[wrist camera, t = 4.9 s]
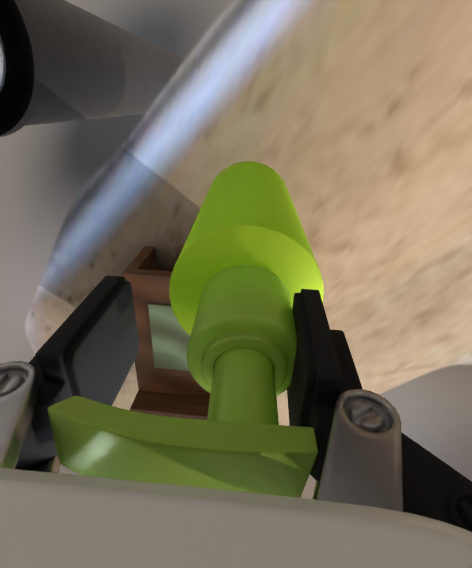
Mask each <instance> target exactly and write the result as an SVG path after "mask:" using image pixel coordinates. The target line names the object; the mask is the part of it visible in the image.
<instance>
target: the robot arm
mask: <svg viewBox="0 0 472 568" xmlns="http://www.w3.org/2000/svg"><path fill="white" fill-rule="evenodd" d="M5 76H6V56H5V50H4V45H3V42H2V38H1V35H0V93H1V90H2V88H3V85H4V82H5ZM292 311H293V317H294V323H295V330H296V337H297V347H296V355H295V361H294V368H293V374H292V380H291V385H290V387H289V388H287V394H288V408H289V422H290V426H299V427H312V428H313V429H314V433H315V438H316V444H317V449H318V454H317V457H316V459H315V462H314V464H313V467H312V469H311V472H310V475H311V476H312V477H313V478H314V479H316V484H315V489H314V494H313V499H305V498H296V497H287V496H277V495H268V494H258V493H249V492H239V491H230V490H220V489H211V488H201V487H191V486H182V485H172V484H162V483H152V482H142V481H132V480H122V479H112V478H101V477H91V476H81V475H71V474H60V473H59V471H60V466H61V463H60V461H59V458H58V454H57V450H56V445H55V441H54V437H53V432H52V428H51V423H50V418H49V414H48V407H50V406H52V405H54V404H56V403H58V402H60V401H62V400H65V399H68V398H70V397H73V396H80V397H84V398H87V399H90V400H93V401H96V402H100V403H103V404H106V405H110V406H112V404H113V402H114V400H115V398H116V396H117V394H118V392H119V390H120V388H121V386H122V384H123V382H124V380H125V378H126V376H127V374H128V372H129V370H130V368H131V366H132V365H133V363H134V361H135V359H136V357H137V355H138V352H139V337H138V329H137V322H136V315H135V308H134V301H133V294H132V286H131V283H130V282H129V281H126V279H125V278H124V277H120V276H106V277H104V279H103V280H102V281H101V282H100V283H99V284H98V285H97V286H96V287H95V288H94V290H93V291H92V292H91V293H90V294H89V295H88V296H87V297H86V298H85V300H84V301H83V302H82V303H81V304H80V305H79V306H78V307H77V308H76V310H75V311H74V312H73V313H72V314H71V315H70V316H69V317H68V318H67V319H66V321H65V322H64V323H63V324H62V325H61V326H60V327H59V328H58V329H57V331H56V332H55V333H54V334H53V335H52V336H51V337H50V338H49V339H48V341H47V342H46V343H45V344H44V345H43V346H42V347H41V348H40V349H39V350H38V352H37V353H36V356H35V357H34V358H33V359H32V360H31V361H30V362H29V363H27V362H23V361H12V362H7V363H3V364H0V568H472V482H471V481H470V480H468V479H467V478H466V477H464V476H463V475H461V474H460V473H459V472H457V471H455V470H454V469H453V468H452V467H450V466H449V465H447V464H446V463H444V462H443V461H441V460H440V459H439V458H437V457H436V456H434V455H433V454H431V453H430V452H429V451H427V450H426V449H424V448H423V447H422V446H420V445H419V444H417V443H416V442H414V441H413V440H411V439H410V438H408V437H407V436H406V435H404V434H403V433H402V432H401V421H400V416H399V414H398V412H397V411H396V409H395V407H394V406H393V405H392V404H391V403H390V402H389V401H388V400H386V399H385V398H383V397H382V396H380V395H379V394H376V393H374V392H371V391H368V390H363V389H362V386H361V383H360V380H359V377H358V374H357V371H356V368H355V365H354V362H353V359H352V356H351V353H350V350H349V347H348V344H347V341H346V338H345V335H344V333H343V331H341V330H330V328H329V324H328V321H327V317H326V314H325V310H324V306H323V303H322V299H321V296H320V292H319V290H313V289H301V292H300V293H295V294H294V300H293V307H292Z"/></svg>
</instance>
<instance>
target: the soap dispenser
mask: <svg viewBox="0 0 472 568" xmlns="http://www.w3.org/2000/svg"><path fill="white" fill-rule="evenodd" d="M301 289H313V290H319V292H320V296H321V299H322V303H323V295H324V289H323V281H322V276H321V273H320V270H319V268H318V265H317V263H316V260H315V258H314V255H313V253H312V250H311V248H310V245H309V243H308V240H307V238H306V235H305V233H304V230H303V228H302V225H301V223H300V220H299V218H298V215H297V213H296V210H295V208H294V205H293V203H292V200H291V198H290V195H289V193H288V190H287V188H286V185H285V183H284V181H283V180H282V178H281V177H280V176H279V175H278V174H277V173H276V172H275V171H274V170H273V169H271V168H270V167H268V166H266V165H264V164H261V163H257V162H240V163H236V164H233V165H231V166H229V167H227V168H226V169H224V170H223V171H222V172H221V173H220V174H219V175H218V176H217V177H216V178H215V180H214V181H213V183H212V185H211V187H210V189H209V192H208V194H207V196H206V198H205V200H204V203H203V205H202V207H201V209H200V211H199V214H198V216H197V218H196V220H195V222H194V225H193V227H192V229H191V231H190V233H189V236H188V238H187V240H186V242H185V244H184V247H183V249H182V251H181V253H180V255H179V258H178V260H177V262H176V264H175V266H174V269H173V272H172V275H171V279H170V285H169V295H170V302H171V306H172V309H173V312H174V315H175V317H176V319H177V320H178V322H179V324H180V325H181V326H182V328H183V329H184V330H185V331H186V332H187V333H188V334H189V335H190V340H189V344H188V349H187V363H188V368H189V371H190V373H191V375H192V376H193V378H194V379H195V381H196V382H197V383H198V384H199V385H200V386H201V387H202V388H203V389H204V390H206V391H207V392H209V393H210V400H209V408H208V415H207V420H200V419H187V418H176V417H167V416H159V415H152V414H145V413H140V412H135V411H130V410H125V409H121V408H117V407H113V406H110V405H106V404H103V403H100V402H96V401H93V400H90V399H87V398H84V397H80V396H73V397H70V398H68V399H65V400H62V401H60V402H58V403H56V404H54V405H52V406H50V407H48V414H49V418H50V423H51V428H52V432H53V437H54V441H55V445H56V450H57V454H58V458H59V461H60V463H61V464H62V465H63V466H65V467H66V468H68V469H70V470H72V471H74V472H76V473H79V474H81V475H83V476H91V477H101V478H112V479H122V480H132V481H142V482H152V483H162V484H172V485H182V486H191V487H201V488H211V489H220V490H230V491H239V492H249V493H258V494H268V495H277V496H287V497H296V498H300V497H301V494H302V492H303V489H304V487H305V484H306V481H307V479H308V477H309V474H310V472H311V469H312V467H313V464H314V462H315V459H316V457H317V454H318V449H317V444H316V438H315V433H314V429H313V428H312V427H299V426H283V425H279V422H278V411H277V399H276V396H277V395H279V394H281V393H282V392H284V391H285V390H286V389H287V388H289V387H290V385H291V380H292V374H293V368H294V361H295V355H296V347H297V337H296V330H295V323H294V317H293V311H292V307H293V300H294V294H295V293H300V292H301Z"/></svg>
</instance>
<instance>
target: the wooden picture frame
mask: <svg viewBox="0 0 472 568" xmlns="http://www.w3.org/2000/svg"><path fill="white" fill-rule="evenodd" d="M122 274H123V277H124V278H125V279H126V281H129V282H130V283H131V286H132V294H133V301H134V308H135V315H136V322H137V329H138V337H139V352H138V355H137V357H136V359H135V366H136V373H137V380H138V387H139V391H138V393H137V395H136V397H135V399H134V402H133V404H132V406H131V408H130V411H135V412H140V413H145V414H152V415H159V416H167V417H176V418H187V419H200V420H207V415H208V408H209V400H210V393H209V392H207V391H206V390H204V389H203V388H202V387H201V386H200V385H199V384H198V383H197V382H196V381H195V379H194V378H193V376H192V375H191V373H190V371H189V368H188V363H187V349H188V344H189V340H190V335H189V334H188V333H187V332H186V331H185V330H184V329H183V328H182V326H181V325H180V324H179V322H178V320H177V319H176V317H175V315H174V312H173V309H172V306H171V302H170V295H169V285H170V279H171V275H172V272H168V271H157V270H156V258H155V247H144V248H143V250H142V251H141V252H140V253H139V254H138V255H137V257H136V258H135V259H134V260H133V261H132V262H131V264H130V265H129V266H128V267H127V268H126V269H125V271H124V272H123V273H122Z"/></svg>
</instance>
